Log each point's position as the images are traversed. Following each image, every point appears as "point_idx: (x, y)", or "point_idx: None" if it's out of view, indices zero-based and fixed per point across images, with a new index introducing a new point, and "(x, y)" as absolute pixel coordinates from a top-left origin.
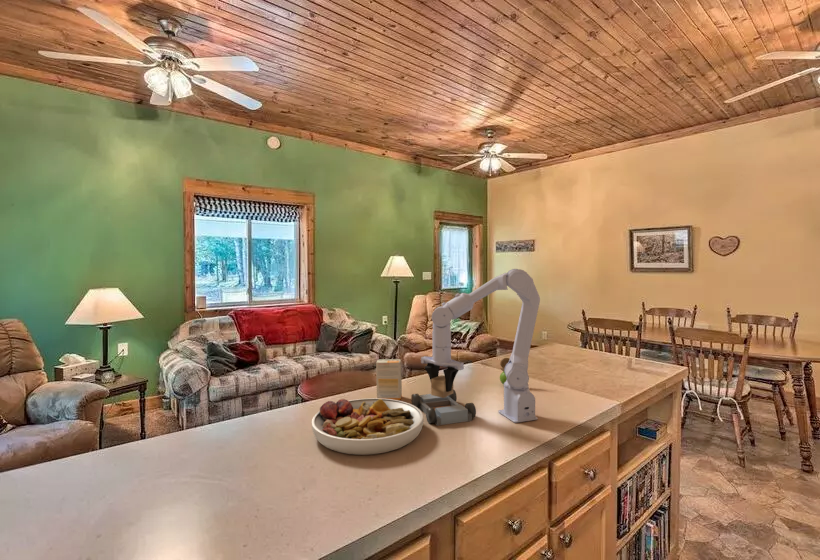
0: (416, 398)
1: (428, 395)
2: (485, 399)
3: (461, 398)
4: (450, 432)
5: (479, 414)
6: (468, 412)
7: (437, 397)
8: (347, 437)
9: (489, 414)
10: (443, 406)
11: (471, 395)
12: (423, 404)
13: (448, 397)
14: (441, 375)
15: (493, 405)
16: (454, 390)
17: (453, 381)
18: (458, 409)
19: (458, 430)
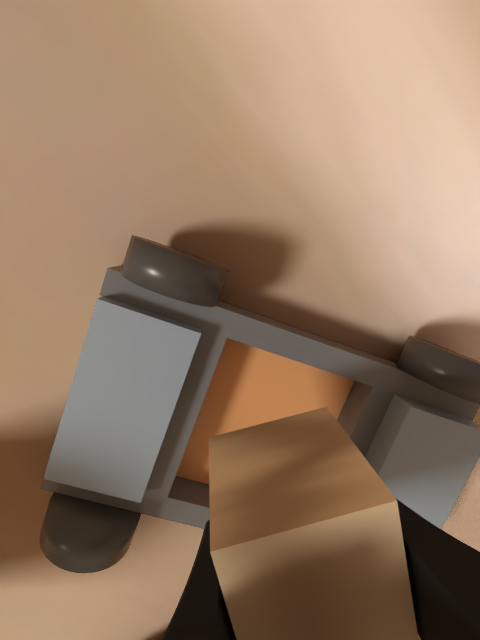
0: (118, 553)
1: (89, 431)
2: (289, 15)
3: (157, 147)
4: (462, 541)
5: (432, 285)
6: (456, 398)
7: (166, 407)
8: None
9: (473, 239)
10: (214, 372)
11: (152, 21)
12: (180, 516)
13: (177, 305)
14: (226, 560)
15: (405, 83)
16: (193, 262)
17: (431, 524)
18: (449, 474)
19: (474, 503)
